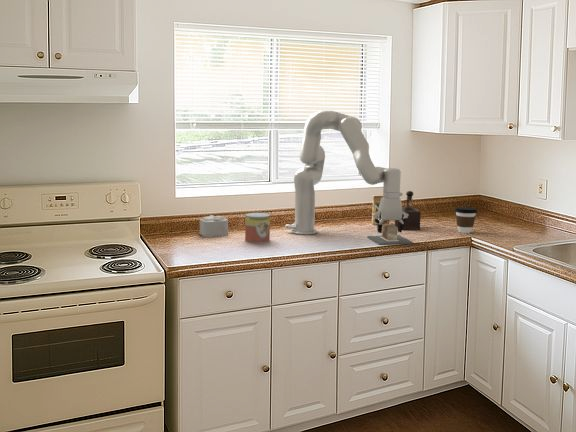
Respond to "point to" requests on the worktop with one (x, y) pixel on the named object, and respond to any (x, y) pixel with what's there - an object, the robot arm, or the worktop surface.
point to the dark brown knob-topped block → (410, 215)
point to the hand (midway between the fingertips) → (389, 232)
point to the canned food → (257, 227)
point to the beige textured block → (389, 232)
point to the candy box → (377, 208)
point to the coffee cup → (465, 218)
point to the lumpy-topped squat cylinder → (213, 226)
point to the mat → (383, 241)
